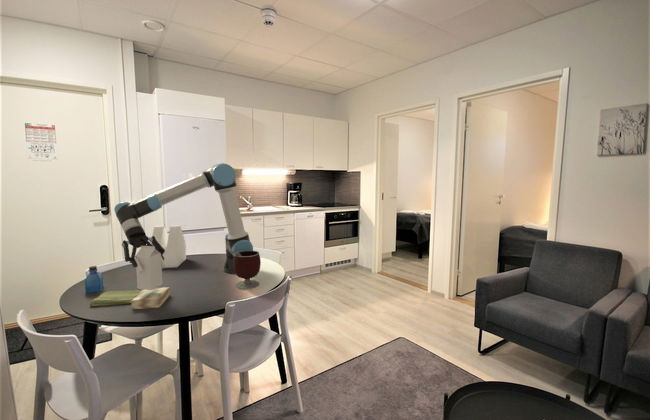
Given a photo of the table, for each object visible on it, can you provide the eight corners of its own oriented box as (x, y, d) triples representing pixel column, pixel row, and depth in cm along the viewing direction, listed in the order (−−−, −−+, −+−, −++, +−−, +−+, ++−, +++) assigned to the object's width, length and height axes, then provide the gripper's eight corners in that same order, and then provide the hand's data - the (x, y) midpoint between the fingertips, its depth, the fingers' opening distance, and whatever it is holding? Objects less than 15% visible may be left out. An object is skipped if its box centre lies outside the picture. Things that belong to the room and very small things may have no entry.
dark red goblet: (252, 278, 171) (251, 243, 169) (266, 285, 161) (265, 248, 159) (226, 285, 160) (224, 248, 158) (239, 293, 150) (238, 253, 148)
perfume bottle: (85, 293, 150) (83, 269, 149) (88, 289, 155) (86, 266, 154) (101, 291, 153) (99, 267, 151) (103, 287, 158) (101, 264, 157)
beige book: (169, 295, 147) (169, 287, 147) (159, 307, 134) (158, 298, 133) (145, 296, 145) (144, 288, 145) (132, 309, 132) (131, 300, 131)
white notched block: (177, 267, 193) (174, 228, 190) (151, 268, 190) (148, 228, 188) (186, 259, 212) (184, 223, 209) (162, 260, 209) (160, 224, 207)
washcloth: (132, 305, 137) (131, 298, 137) (88, 308, 134) (87, 301, 134) (144, 294, 150) (143, 287, 150) (104, 296, 147) (103, 290, 146)
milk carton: (151, 290, 135) (148, 248, 132) (137, 289, 136) (134, 247, 134) (162, 284, 142) (160, 244, 139) (149, 283, 143) (147, 244, 141)
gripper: (155, 232, 154) (173, 268, 147) (104, 239, 136) (123, 280, 129) (159, 222, 150) (179, 259, 143) (109, 228, 132) (128, 270, 125)
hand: (152, 269), depth 136 cm, fingers closed on milk carton, 9 cm apart
